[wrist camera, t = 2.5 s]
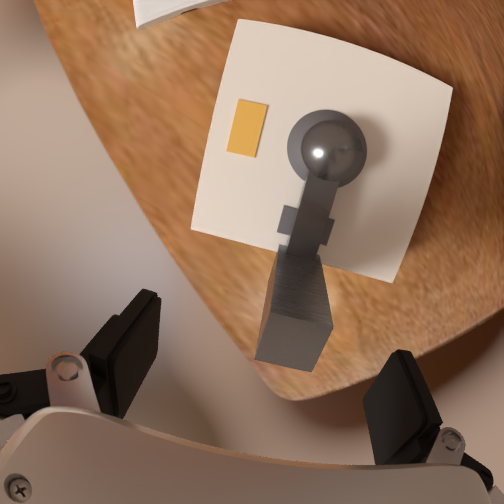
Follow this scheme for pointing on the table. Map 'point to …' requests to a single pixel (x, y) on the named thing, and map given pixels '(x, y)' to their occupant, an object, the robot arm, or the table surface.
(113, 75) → the table surface
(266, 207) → the box
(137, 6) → the external hard drive
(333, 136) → the key crank
